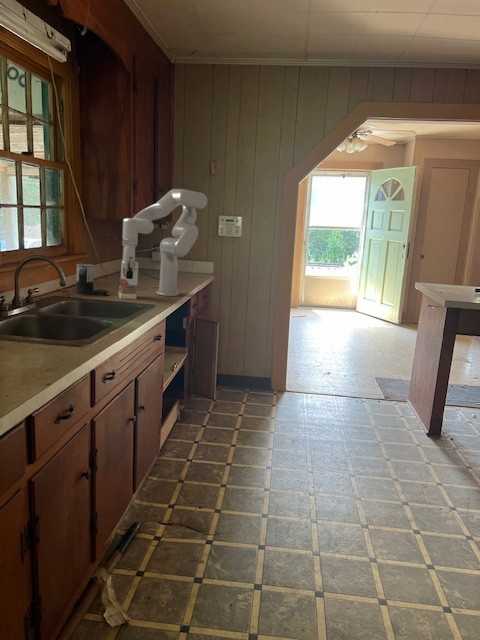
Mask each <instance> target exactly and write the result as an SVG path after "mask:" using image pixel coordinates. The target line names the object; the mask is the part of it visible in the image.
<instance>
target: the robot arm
mask: <svg viewBox="0 0 480 640" xmlns="http://www.w3.org/2000/svg"><path fill="white" fill-rule="evenodd" d="M207 204H208V197H207V195H206V194H205V193H203V192H198V191H195V190H194V191H193V190H190V189H189V190H188V189H184V188H171V190H169V191H168V192H167V193H166V194H165V195H163V196H162V197H161V198H160V199H158V201H157V202H155V203H154V204H151V205H150V206H147V207H146V208H144V209H142V210H140V211H139V212H138V213H136V214H135V215H134V216H133V217H132V218H131V217H125V218H123V220H122V241H121V243H122V244H121V245H122V246H123V249H122V261H123V262H124V265H126V264H127V272H126V278H127V279H133V265H134V264H135V262H136V247H138V235H139V233H140V234H145V235H148V234H151V233H152V232H153V231H154V228H155V225H154V222H153V221H155V220H157V219H161V218H165V217H167V216H168V215H169V214H170V213H171V212H173V211H174V210H175V209H176V208H177V207H178V206H182V213H181V215H180V217H179V218H178V220H176V223H175V224H174V226H173V227H172V231H171V234H172V236H173V237H165V238H163V239H162V240H161V241H160V243H159V251H160V252H159V253H160V265H159V266H160V269H159V287H158V290H156V293H155V294H157V295H158V296H163V297H177V296H179V292H178V291H177V286H178V285H177V284H178V270H179V261H178V258H183V257H185V256H186V255H188V253H189V252H190V250H191V249H192V247H193V245H194V244H195V242H196V241H197V239H198V236H199V229H198V227H197V226H196V224H195V223H196V220H197V212H196V209H199V210H201V209H204V208H206V206H207ZM128 264H130V265H128ZM128 266H129V267H128Z"/></svg>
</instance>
